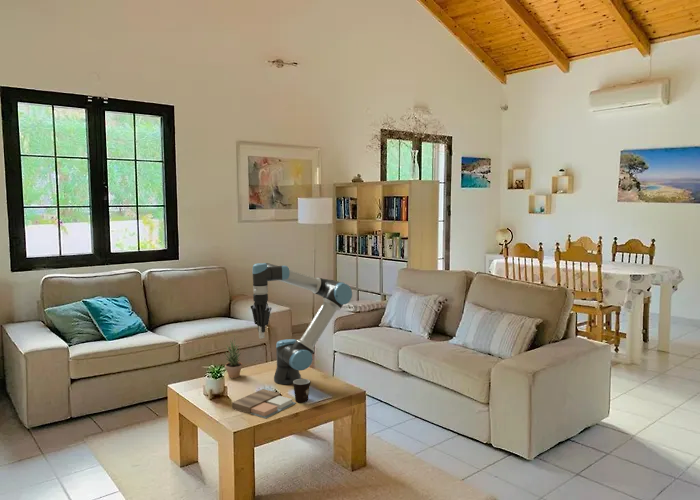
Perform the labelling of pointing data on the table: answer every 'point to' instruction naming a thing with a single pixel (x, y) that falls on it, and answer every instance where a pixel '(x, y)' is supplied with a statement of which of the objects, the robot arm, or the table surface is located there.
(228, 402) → the table surface
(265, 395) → the walnut board
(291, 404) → the slate mat
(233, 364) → the potted plant
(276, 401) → the cream coaster
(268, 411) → the terracotta coaster
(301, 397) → the coffee mug
